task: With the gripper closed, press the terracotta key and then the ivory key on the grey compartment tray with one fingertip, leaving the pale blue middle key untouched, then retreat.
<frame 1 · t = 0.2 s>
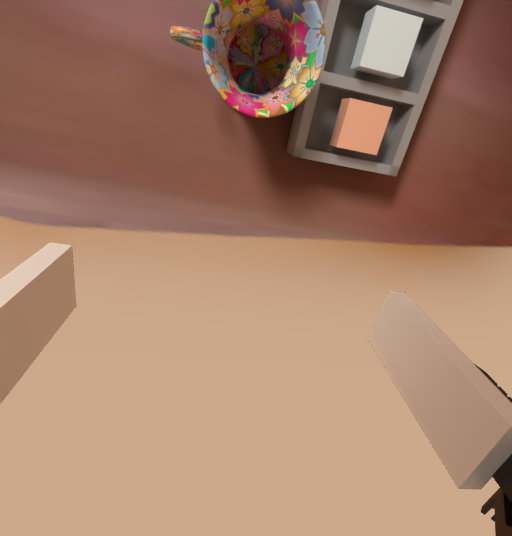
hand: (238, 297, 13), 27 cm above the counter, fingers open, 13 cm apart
grey compartment tray: (364, 53, 33), on the counter
key 1: (359, 127, 31), point 5 cm above the counter, slide at 0.0 cm
key middle: (384, 45, 28), point 5 cm above the counter, slide at 0.0 cm
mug: (241, 63, 32), on the counter
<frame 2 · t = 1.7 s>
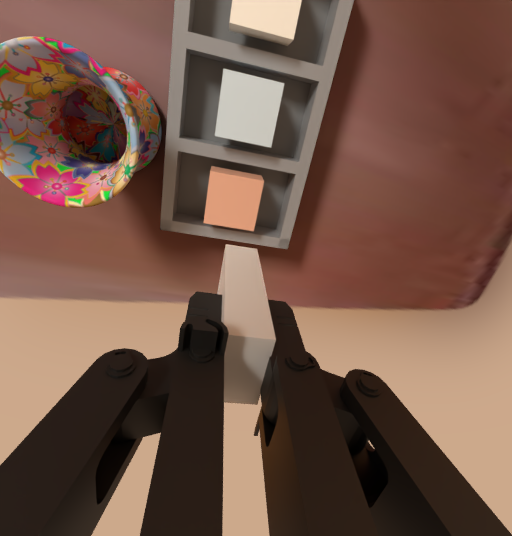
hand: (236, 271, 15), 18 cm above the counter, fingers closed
grey compartment tray: (244, 109, 28), on the counter
key 1: (232, 198, 27), point 5 cm above the counter, slide at 0.0 cm
key middle: (247, 110, 24), point 5 cm above the counter, slide at 0.0 cm
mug: (100, 120, 28), on the counter
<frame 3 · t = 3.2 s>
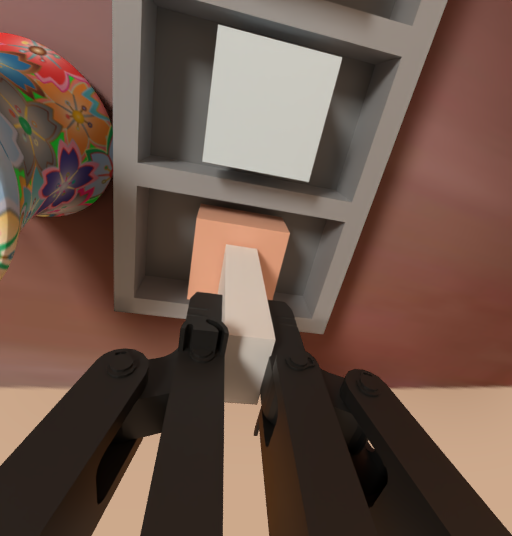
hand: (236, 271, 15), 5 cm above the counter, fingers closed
grey compartment tray: (255, 110, 17), on the counter
key 1: (235, 257, 16), point 4 cm above the counter, slide at -0.8 cm
key middle: (265, 111, 13), point 5 cm above the counter, slide at 0.0 cm
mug: (12, 128, 16), on the counter
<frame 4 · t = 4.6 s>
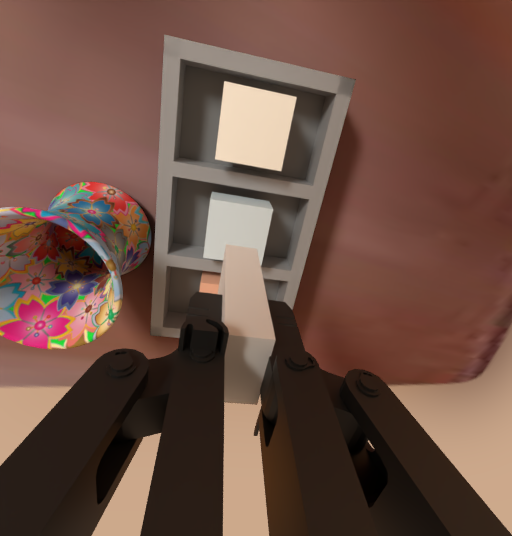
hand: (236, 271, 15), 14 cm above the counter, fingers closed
grey compartment tray: (235, 211, 28), on the counter
key 1: (224, 301, 27), point 4 cm above the counter, slide at -0.9 cm
key middle: (236, 228, 23), point 5 cm above the counter, slide at 0.0 cm
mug: (89, 225, 27), on the counter
key 2: (253, 128, 20), point 5 cm above the counter, slide at 0.0 cm
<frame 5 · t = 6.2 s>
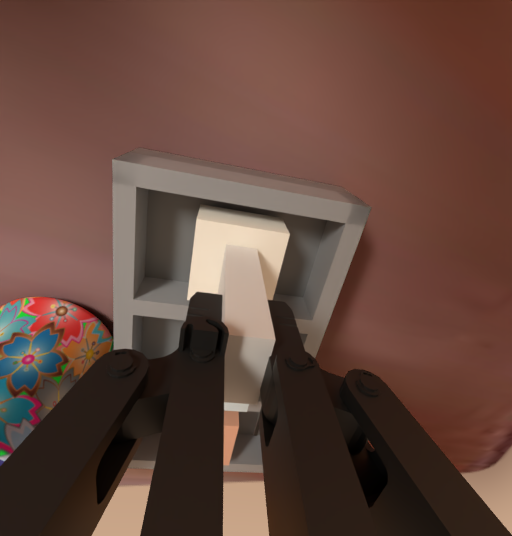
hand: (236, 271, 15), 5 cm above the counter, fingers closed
grey compartment tray: (218, 319, 23), on the counter
key 1: (203, 429, 22), point 4 cm above the counter, slide at -0.9 cm
key middle: (216, 367, 19), point 5 cm above the counter, slide at 0.0 cm
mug: (40, 335, 23), on the counter
key 2: (235, 257, 16), point 4 cm above the counter, slide at -0.9 cm, touching gripper
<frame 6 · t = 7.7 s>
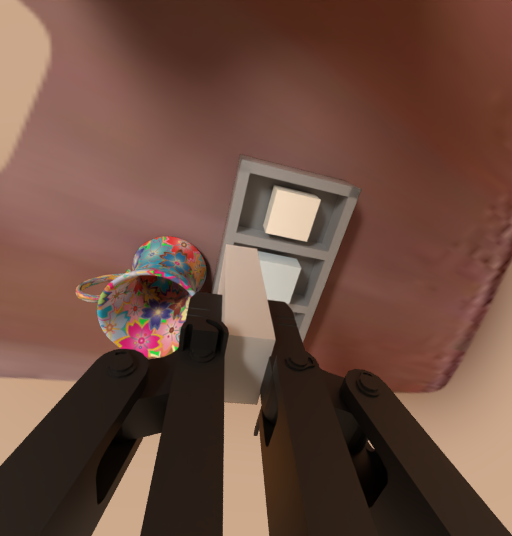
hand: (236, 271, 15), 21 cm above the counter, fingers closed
grey compartment tray: (268, 259, 38), on the counter
key middle: (273, 277, 33), point 5 cm above the counter, slide at 0.0 cm
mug: (160, 264, 37), on the counter
key 2: (290, 213, 31), point 4 cm above the counter, slide at -0.9 cm
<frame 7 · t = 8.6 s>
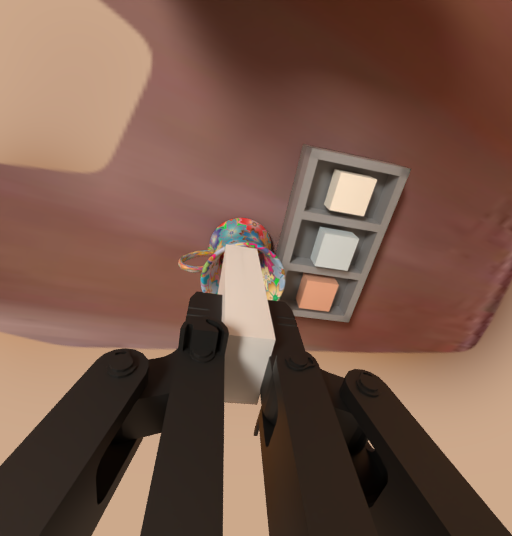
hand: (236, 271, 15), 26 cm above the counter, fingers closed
grey compartment tray: (323, 235, 43), on the counter
key 1: (316, 291, 43), point 4 cm above the counter, slide at -0.9 cm
key middle: (333, 248, 39), point 5 cm above the counter, slide at 0.0 cm
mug: (230, 242, 43), on the counter
key 2: (349, 192, 37), point 4 cm above the counter, slide at -0.9 cm
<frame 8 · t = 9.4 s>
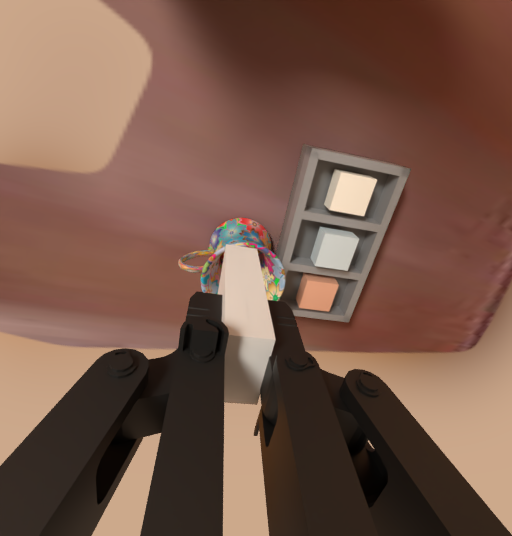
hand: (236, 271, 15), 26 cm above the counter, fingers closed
grey compartment tray: (323, 235, 43), on the counter
key 1: (316, 291, 43), point 4 cm above the counter, slide at -0.9 cm
key middle: (333, 248, 39), point 5 cm above the counter, slide at 0.0 cm
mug: (230, 242, 43), on the counter
key 2: (349, 192, 37), point 4 cm above the counter, slide at -0.9 cm
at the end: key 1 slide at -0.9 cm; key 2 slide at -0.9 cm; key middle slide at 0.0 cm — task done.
